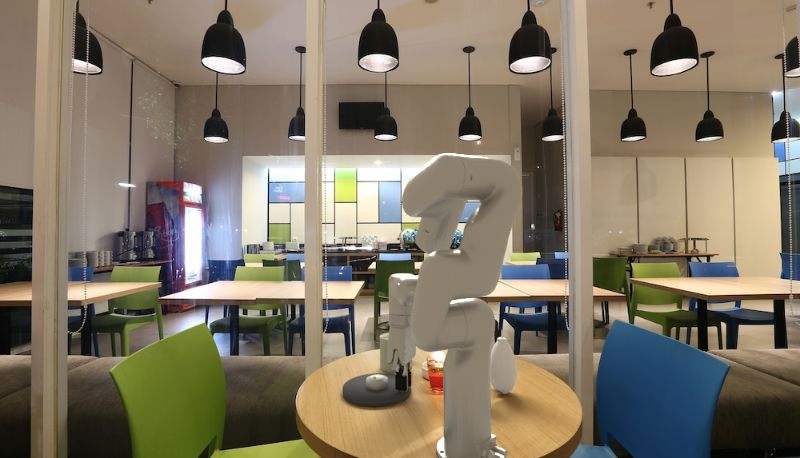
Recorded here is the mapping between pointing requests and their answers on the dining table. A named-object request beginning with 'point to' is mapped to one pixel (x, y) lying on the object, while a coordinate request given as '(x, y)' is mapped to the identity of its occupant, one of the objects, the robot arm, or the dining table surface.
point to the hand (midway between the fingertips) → (403, 387)
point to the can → (384, 353)
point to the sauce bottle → (503, 366)
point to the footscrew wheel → (374, 390)
